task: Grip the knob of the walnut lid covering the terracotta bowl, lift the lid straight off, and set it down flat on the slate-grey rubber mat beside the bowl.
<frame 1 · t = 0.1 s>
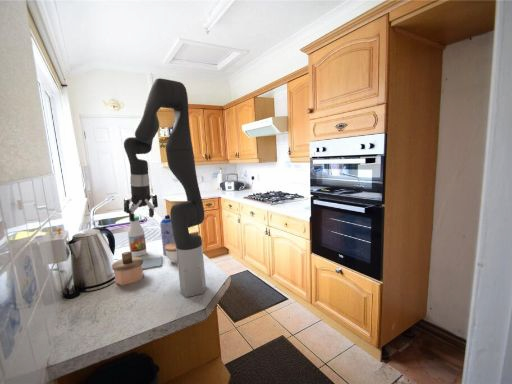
hand: (142, 218, 116), 22 cm above the worktop, tool pointing down, fingers open, 8 cm apart
mat: (149, 263, 121), on the worktop
bowl: (129, 278, 108), on the worktop, touching lid
aerosol can: (171, 253, 134), on the worktop
lidded jar: (178, 260, 123), on the worktop
milk bottle: (138, 254, 134), on the worktop
lid: (128, 264, 107), point 6 cm above the worktop, touching bowl
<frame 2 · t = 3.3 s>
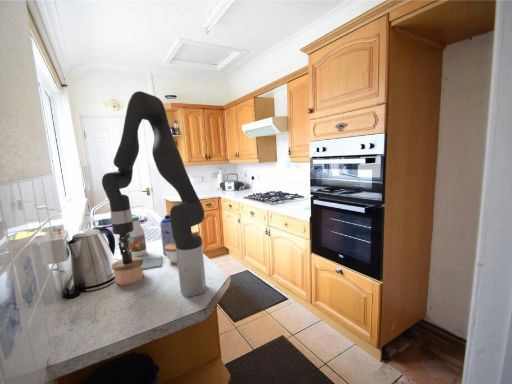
hand: (127, 260, 106), 8 cm above the worktop, tool pointing down, fingers closed on lid, 3 cm apart
lid: (128, 264, 107), point 6 cm above the worktop, touching bowl, gripper
everything else where it was.
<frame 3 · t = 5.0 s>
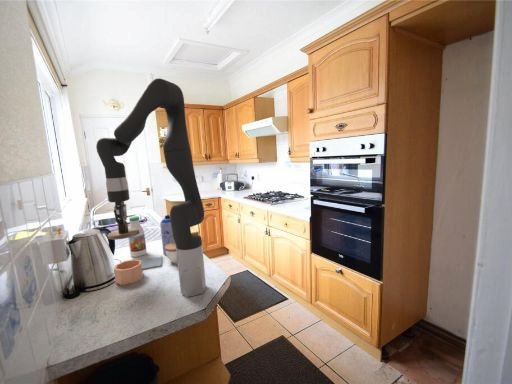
hand: (123, 230, 104), 21 cm above the worktop, tool pointing down, fingers closed on lid, 3 cm apart
bowl: (129, 278, 108), on the worktop
lid: (124, 234, 105), point 19 cm above the worktop, touching gripper
everything else where it was.
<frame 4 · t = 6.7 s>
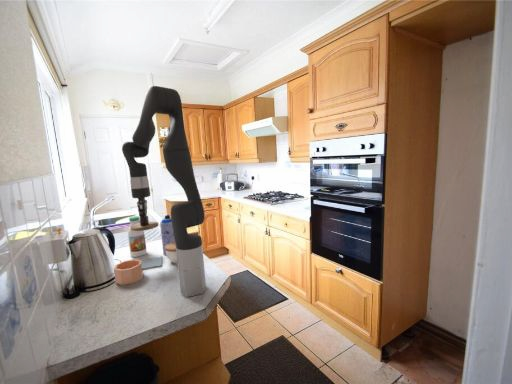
hand: (144, 223, 118), 20 cm above the worktop, tool pointing down, fingers closed on lid, 3 cm apart
lid: (144, 227, 118), point 18 cm above the worktop, touching gripper
everything else where it was.
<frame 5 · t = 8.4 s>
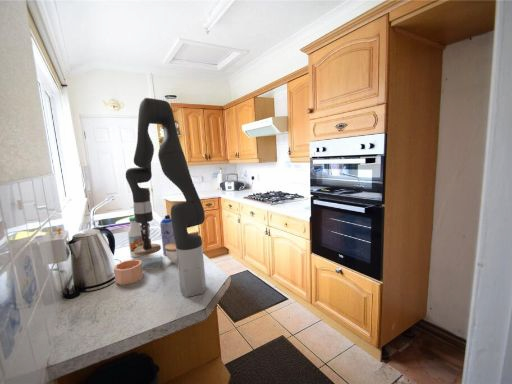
hand: (147, 246, 120), 8 cm above the worktop, tool pointing down, fingers closed on lid, 3 cm apart
lid: (147, 250, 120), point 7 cm above the worktop, touching gripper
everything else where it was.
when the fingers open (4 cm above the worktop, at t = 10.1 s): lid drops 2 cm, resting on mat.
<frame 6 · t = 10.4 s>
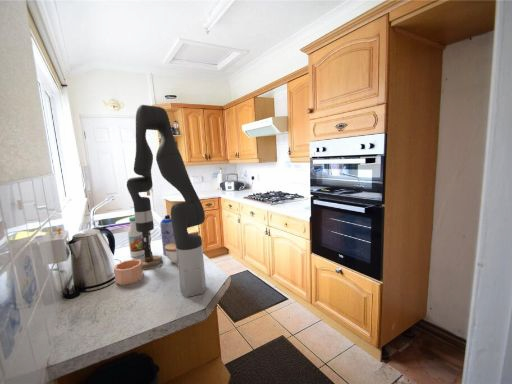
hand: (148, 254, 120), 5 cm above the worktop, tool pointing down, fingers open, 6 cm apart
lid: (149, 262, 121), point 1 cm above the worktop, touching mat
everything else where it was.
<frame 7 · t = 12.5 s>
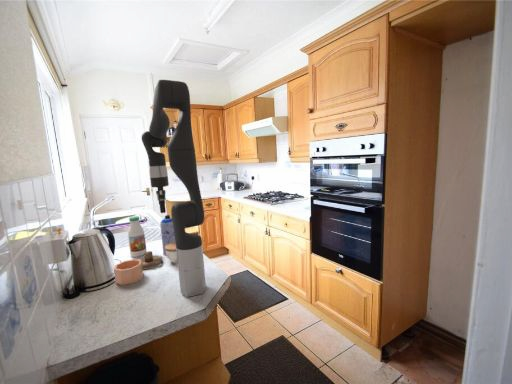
hand: (163, 211, 118), 25 cm above the worktop, tool pointing down, fingers open, 8 cm apart
nothing on the worktop moved.
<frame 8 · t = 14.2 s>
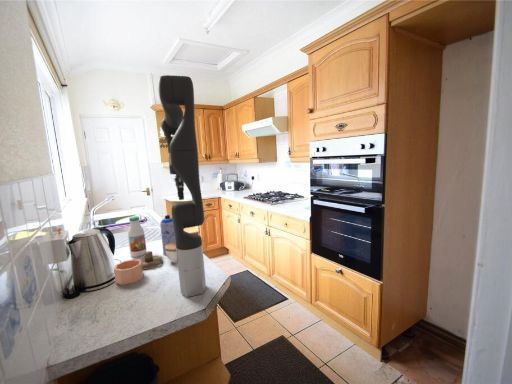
hand: (181, 198, 119), 30 cm above the worktop, tool pointing down, fingers open, 8 cm apart
nothing on the worktop moved.
at the end: lid inside the target area on the mat (0.1 cm from its centre), point 0.6 cm above the mat's base; the gripper is holding nothing; bowl moved 0.0 cm from its start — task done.
